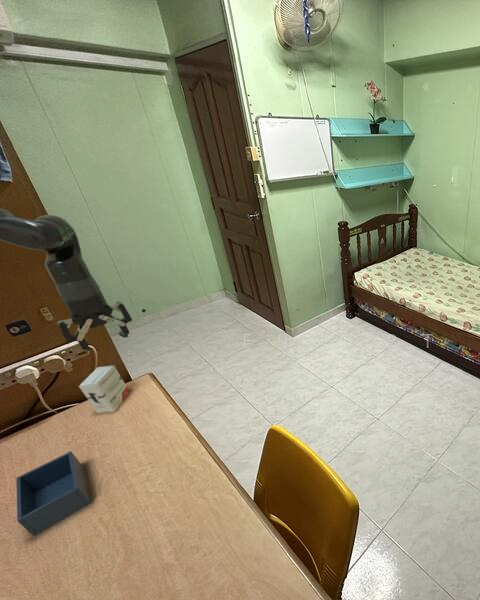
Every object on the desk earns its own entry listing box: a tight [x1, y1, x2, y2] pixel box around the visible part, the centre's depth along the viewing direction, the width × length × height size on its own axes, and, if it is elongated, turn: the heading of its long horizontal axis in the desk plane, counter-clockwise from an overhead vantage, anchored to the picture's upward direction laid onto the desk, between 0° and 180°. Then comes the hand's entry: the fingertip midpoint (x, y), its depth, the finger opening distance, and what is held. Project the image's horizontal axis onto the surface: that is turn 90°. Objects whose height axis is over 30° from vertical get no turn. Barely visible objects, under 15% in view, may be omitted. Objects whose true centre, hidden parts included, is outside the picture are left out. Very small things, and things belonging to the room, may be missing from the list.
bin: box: [16, 451, 92, 537], centre depth 72 cm, size 9×13×6 cm
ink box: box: [78, 365, 130, 414], centre depth 96 cm, size 8×5×12 cm, turn 9°
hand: (107, 342), depth 90 cm, fingers open, 8 cm apart
